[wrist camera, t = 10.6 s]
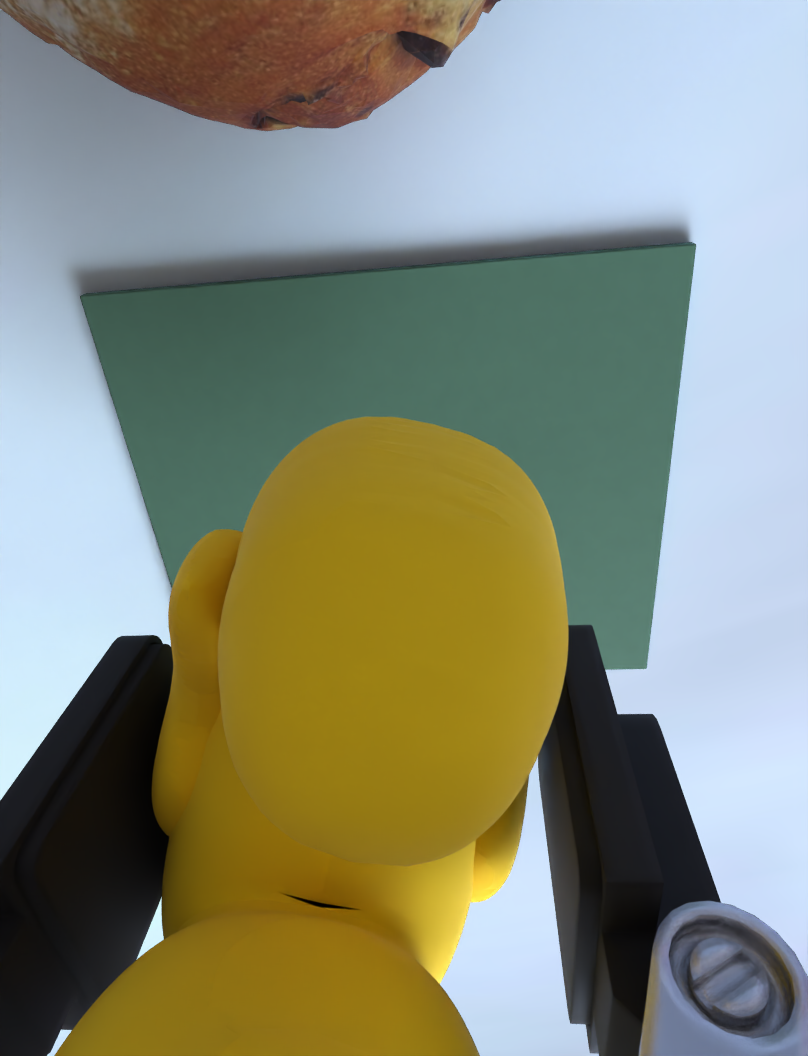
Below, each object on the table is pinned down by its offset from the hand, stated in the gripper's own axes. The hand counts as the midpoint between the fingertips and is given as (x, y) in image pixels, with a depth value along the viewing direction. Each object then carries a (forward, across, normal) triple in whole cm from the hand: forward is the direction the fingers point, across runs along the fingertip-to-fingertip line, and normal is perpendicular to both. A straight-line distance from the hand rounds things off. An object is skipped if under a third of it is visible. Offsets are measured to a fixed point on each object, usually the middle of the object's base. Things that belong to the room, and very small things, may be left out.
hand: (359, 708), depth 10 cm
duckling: (+2, 0, 0) cm, 2 cm away
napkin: (+7, 0, 0) cm, 7 cm away
